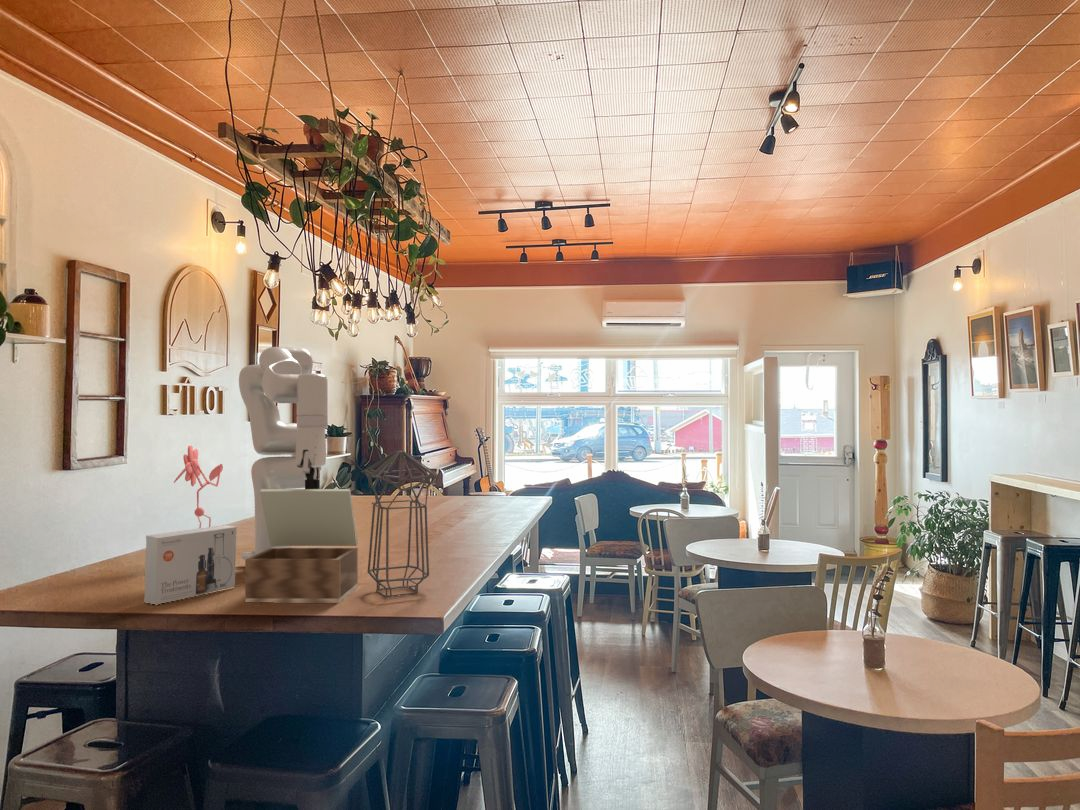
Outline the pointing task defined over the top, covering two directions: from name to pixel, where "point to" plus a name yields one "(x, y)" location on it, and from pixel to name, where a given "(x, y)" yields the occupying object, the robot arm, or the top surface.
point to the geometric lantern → (386, 462)
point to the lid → (309, 517)
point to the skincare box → (189, 563)
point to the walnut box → (301, 575)
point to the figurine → (195, 471)
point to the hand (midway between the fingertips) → (312, 495)
